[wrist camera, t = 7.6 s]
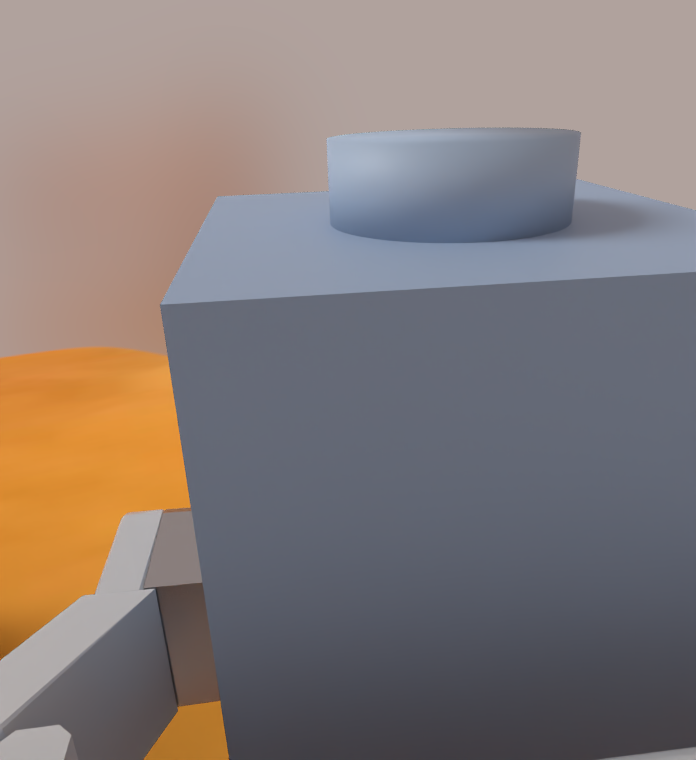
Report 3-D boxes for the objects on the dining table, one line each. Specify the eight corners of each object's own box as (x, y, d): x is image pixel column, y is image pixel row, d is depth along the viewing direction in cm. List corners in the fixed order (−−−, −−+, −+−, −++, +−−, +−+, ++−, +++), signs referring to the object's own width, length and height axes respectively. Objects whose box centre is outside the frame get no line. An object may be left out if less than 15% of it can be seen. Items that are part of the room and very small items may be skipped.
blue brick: (277, 1076, 8) (139, 172, 4) (275, 725, 13) (210, 132, 8) (658, 1012, 9) (921, 138, 4) (523, 695, 13) (584, 117, 9)
